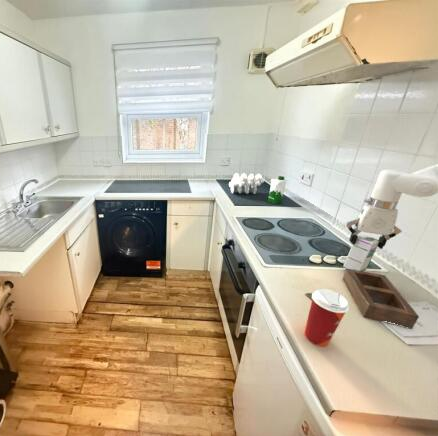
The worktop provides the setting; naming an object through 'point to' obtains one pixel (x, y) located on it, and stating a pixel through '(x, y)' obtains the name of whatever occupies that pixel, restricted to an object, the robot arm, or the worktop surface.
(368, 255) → the syrup box
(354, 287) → the holder
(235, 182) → the white lumpy cluster
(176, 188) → the worktop surface
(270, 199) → the milk carton
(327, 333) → the coffee cup
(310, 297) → the meat cleaver
